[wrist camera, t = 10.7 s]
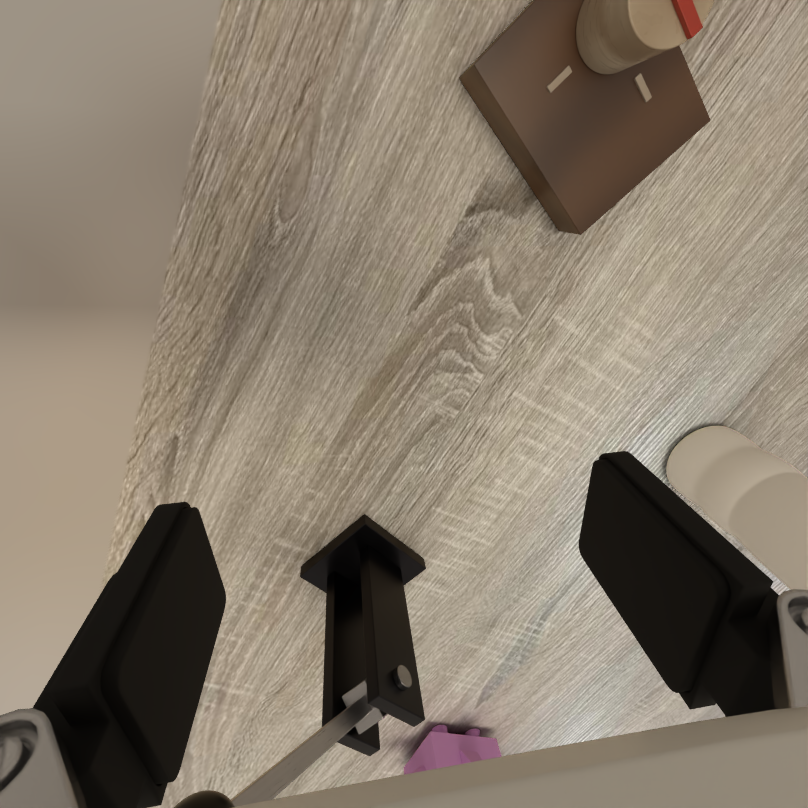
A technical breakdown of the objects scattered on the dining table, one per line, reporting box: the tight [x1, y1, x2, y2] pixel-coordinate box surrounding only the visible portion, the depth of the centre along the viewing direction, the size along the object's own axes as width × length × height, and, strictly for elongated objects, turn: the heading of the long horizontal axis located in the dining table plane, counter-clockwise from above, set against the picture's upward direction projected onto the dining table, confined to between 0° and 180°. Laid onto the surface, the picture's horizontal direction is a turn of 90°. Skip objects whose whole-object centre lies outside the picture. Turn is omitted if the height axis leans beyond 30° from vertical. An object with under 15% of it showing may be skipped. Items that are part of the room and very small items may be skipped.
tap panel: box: [460, 0, 710, 235], centre depth 24 cm, size 12×11×3 cm
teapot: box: [404, 725, 501, 775], centre depth 50 cm, size 18×13×10 cm
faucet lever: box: [174, 679, 387, 808], centre depth 23 cm, size 17×3×3 cm
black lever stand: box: [300, 515, 426, 756], centre depth 34 cm, size 8×8×14 cm
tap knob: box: [576, 0, 714, 74], centre depth 20 cm, size 4×4×5 cm
